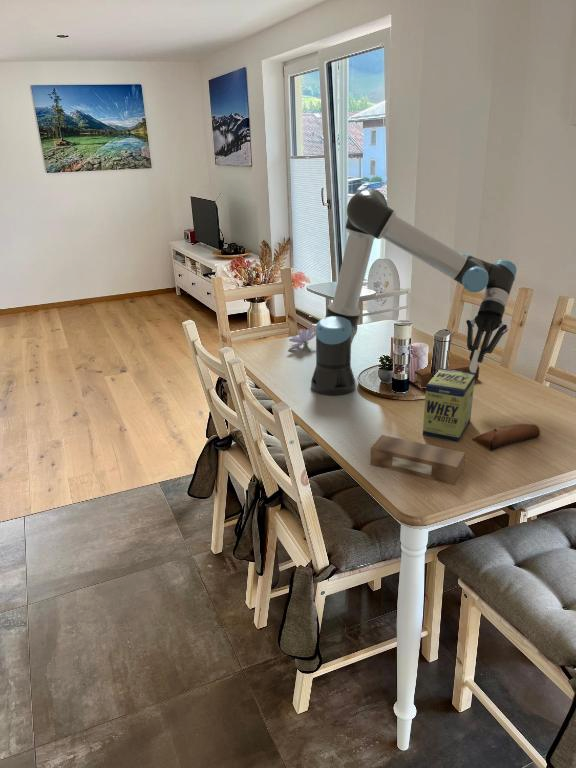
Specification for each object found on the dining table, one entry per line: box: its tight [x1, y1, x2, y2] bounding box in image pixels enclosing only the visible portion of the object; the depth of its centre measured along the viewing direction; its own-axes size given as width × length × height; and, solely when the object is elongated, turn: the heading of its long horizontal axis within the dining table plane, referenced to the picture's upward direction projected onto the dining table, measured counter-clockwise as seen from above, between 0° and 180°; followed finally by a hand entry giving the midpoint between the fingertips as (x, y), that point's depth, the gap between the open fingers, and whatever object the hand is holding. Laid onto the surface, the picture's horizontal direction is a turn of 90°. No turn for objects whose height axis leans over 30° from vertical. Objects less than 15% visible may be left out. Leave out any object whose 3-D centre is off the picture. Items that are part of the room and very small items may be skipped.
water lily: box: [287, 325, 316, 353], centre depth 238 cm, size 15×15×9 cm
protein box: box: [422, 368, 476, 443], centre depth 169 cm, size 10×16×16 cm
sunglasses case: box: [472, 423, 541, 452], centre depth 164 cm, size 18×7×7 cm
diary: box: [415, 351, 480, 387], centre depth 210 cm, size 23×19×6 cm
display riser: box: [369, 434, 466, 486], centre depth 150 cm, size 22×8×5 cm, turn 61°
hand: (472, 370), depth 181 cm, fingers closed
